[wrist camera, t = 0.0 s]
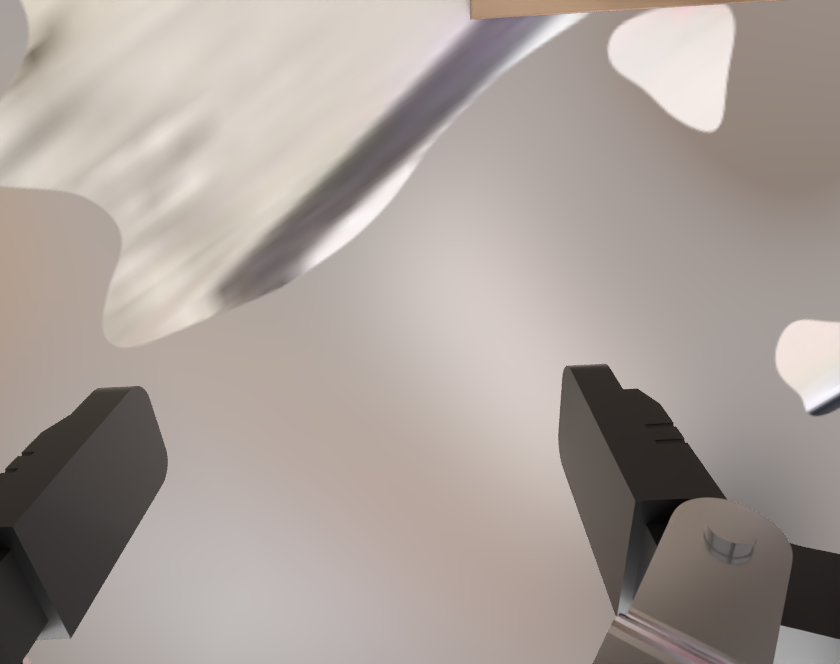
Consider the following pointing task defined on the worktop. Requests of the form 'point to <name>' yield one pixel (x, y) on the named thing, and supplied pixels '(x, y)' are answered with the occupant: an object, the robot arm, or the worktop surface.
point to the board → (575, 6)
